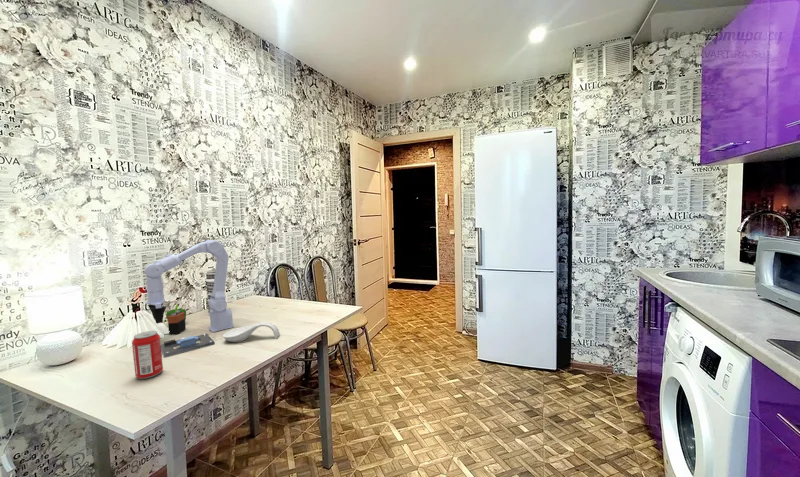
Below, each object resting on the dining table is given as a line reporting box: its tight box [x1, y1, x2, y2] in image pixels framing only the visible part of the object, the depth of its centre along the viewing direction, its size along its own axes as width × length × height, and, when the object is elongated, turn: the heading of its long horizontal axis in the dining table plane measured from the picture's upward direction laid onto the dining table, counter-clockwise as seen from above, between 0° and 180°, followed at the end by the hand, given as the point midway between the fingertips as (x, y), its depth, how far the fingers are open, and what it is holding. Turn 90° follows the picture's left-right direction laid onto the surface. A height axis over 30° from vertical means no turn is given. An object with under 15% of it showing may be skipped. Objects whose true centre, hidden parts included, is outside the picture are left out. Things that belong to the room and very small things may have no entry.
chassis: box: [161, 333, 215, 358], centre depth 143 cm, size 18×14×2 cm
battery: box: [167, 311, 187, 336], centre depth 161 cm, size 4×7×10 cm, turn 5°
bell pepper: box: [166, 304, 187, 320], centre depth 172 cm, size 8×8×10 cm
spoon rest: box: [222, 321, 281, 343], centre depth 149 cm, size 24×12×7 cm, turn 95°
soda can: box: [131, 330, 164, 380], centre depth 117 cm, size 8×8×15 cm
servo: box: [175, 335, 199, 348], centre depth 143 cm, size 8×3×4 cm, turn 133°
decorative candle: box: [204, 269, 216, 316], centre depth 190 cm, size 9×9×25 cm
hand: (158, 320), depth 148 cm, fingers open, 7 cm apart
